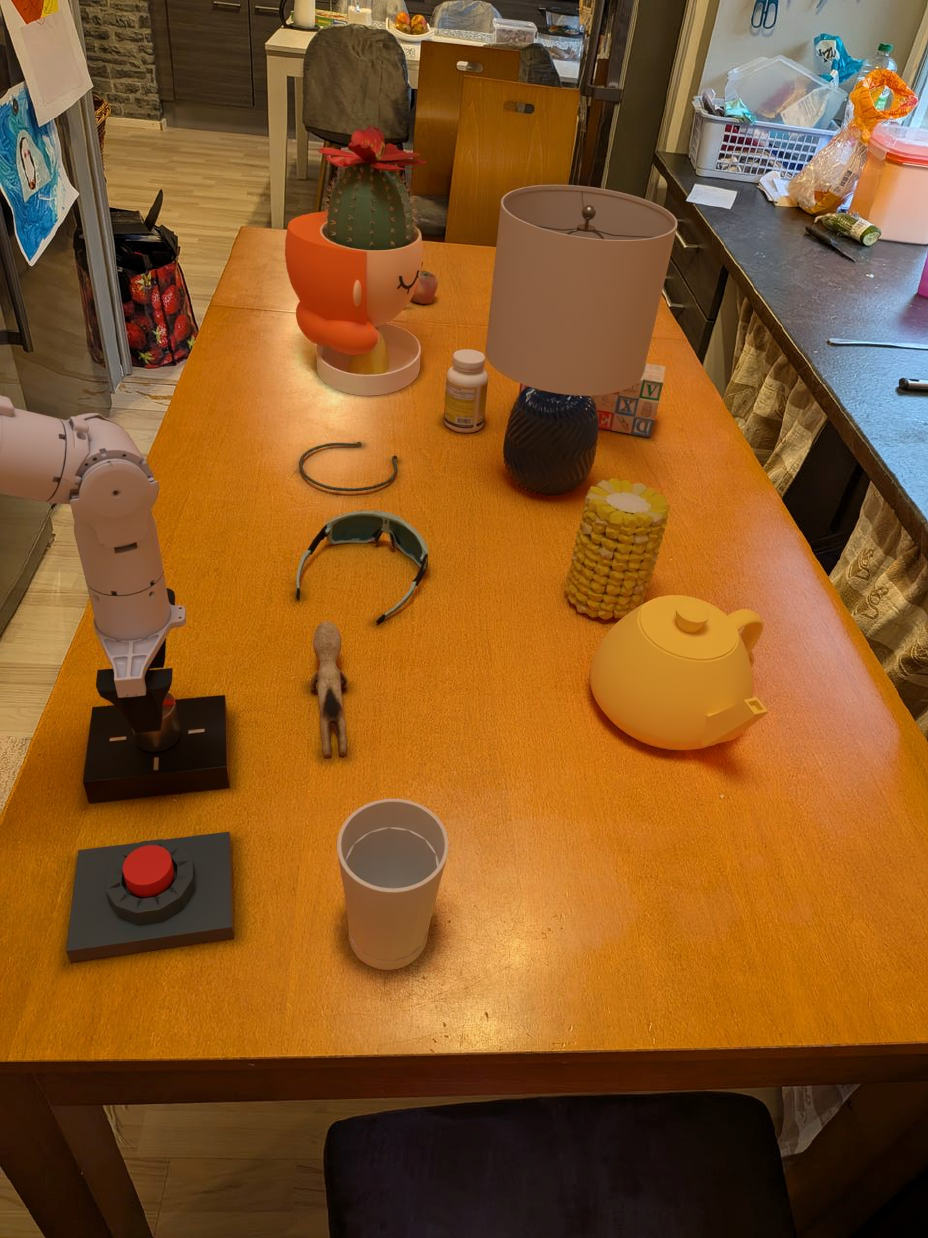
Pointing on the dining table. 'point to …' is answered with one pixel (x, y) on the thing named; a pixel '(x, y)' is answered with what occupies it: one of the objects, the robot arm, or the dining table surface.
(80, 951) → the switch block
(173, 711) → the dimmer knob
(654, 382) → the stack of blocks
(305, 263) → the potted cactus
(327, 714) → the figurine
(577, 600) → the food
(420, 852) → the cup
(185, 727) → the dimmer panel
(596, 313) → the lamp
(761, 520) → the dining table surface
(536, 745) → the dining table surface
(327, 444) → the black headband
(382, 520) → the sunglasses
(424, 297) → the apple
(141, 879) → the switch button
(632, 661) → the teapot
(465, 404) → the pill bottle
